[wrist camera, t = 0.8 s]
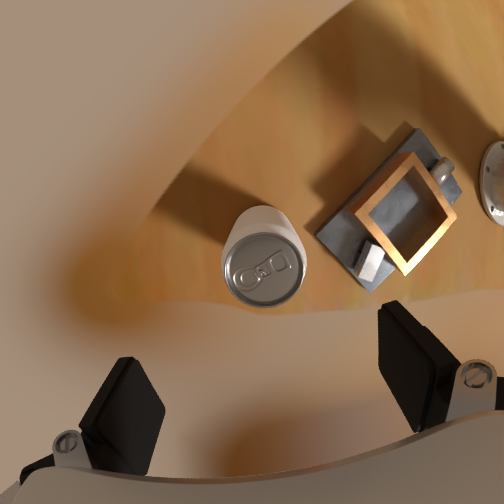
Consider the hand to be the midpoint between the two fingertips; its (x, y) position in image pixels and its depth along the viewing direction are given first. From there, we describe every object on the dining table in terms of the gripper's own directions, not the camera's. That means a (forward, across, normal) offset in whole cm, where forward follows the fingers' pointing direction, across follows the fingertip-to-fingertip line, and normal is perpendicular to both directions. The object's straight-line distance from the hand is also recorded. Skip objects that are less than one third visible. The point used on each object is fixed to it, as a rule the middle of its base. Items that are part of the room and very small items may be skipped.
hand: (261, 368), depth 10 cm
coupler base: (+22, -17, +1) cm, 27 cm away
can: (+22, -1, 0) cm, 23 cm away
